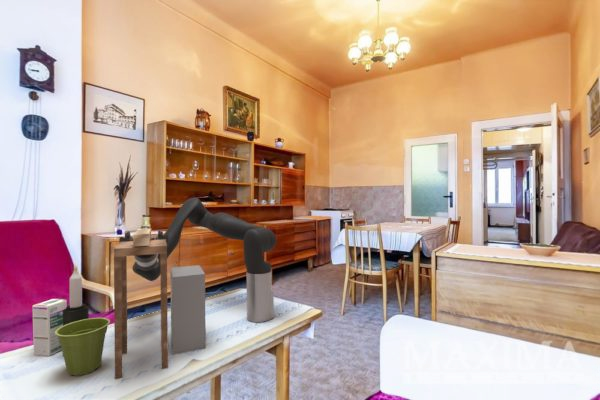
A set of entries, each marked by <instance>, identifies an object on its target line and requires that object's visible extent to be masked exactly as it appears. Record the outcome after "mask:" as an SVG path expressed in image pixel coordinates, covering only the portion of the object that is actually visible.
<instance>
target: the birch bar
mask: <svg viewBox="0 0 600 400" xmlns="http://www.w3.org/2000/svg"><path fill="white" fill-rule="evenodd" d="M132 237H133V247H135V246H149V244H150V240H151V237H152V228H138V229H137V230H136V231H135V232H134V233H133V234H132Z"/></svg>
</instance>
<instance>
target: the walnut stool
mask: <svg viewBox="0 0 600 400" xmlns="http://www.w3.org/2000/svg"><path fill="white" fill-rule="evenodd" d="M149 254H160V273H161V274H160V347H161V349H160V350H161V352H160V353H161V370H162V369H168V368H169V354H168V353H169V349H168V343H169V342H168V341H169V339H168V338H169V337H168V333H169V332H168V331H169V330H168V327H169V325H168V322H169V321H168V258H167V244H166V239H163V240H150V244H149V246H135V247H133V241H127V242H120V243H119V242H118V244H117V245H116V246H115V247H114V248H113V290H114V291H113V293H114V294H113V295H114V296H113V304H114V305H113V306H114V307H113V308H114V309H113V310H114V312H113V313H114V315H113V317H114V329H113V331H114V379H115V380H118V379H122V378H123V374H124V373H123V355H126V354H128V297H127V296H128V291H127V290H128V280H127V279H128V275H127V273H128V269H127V267H128V265H127V264H128V263H127V257H132V256H133V257H134V256H135V255H149Z"/></svg>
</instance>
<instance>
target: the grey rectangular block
mask: <svg viewBox="0 0 600 400" xmlns="http://www.w3.org/2000/svg"><path fill="white" fill-rule="evenodd" d="M169 271H170V339H171V348H172V355H178V354H182V353H188V352H192V351H197V350H203V349H206V346H207V345H206V344H207V343H206V341H207V340H206V338H207V337H206V335H207V334H206V273H205V272H204V270H203V268H202V267H201V265H199V264H197V265H196V264H195V265H187V266H175V267H174V266H173V267H170V270H169Z"/></svg>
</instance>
